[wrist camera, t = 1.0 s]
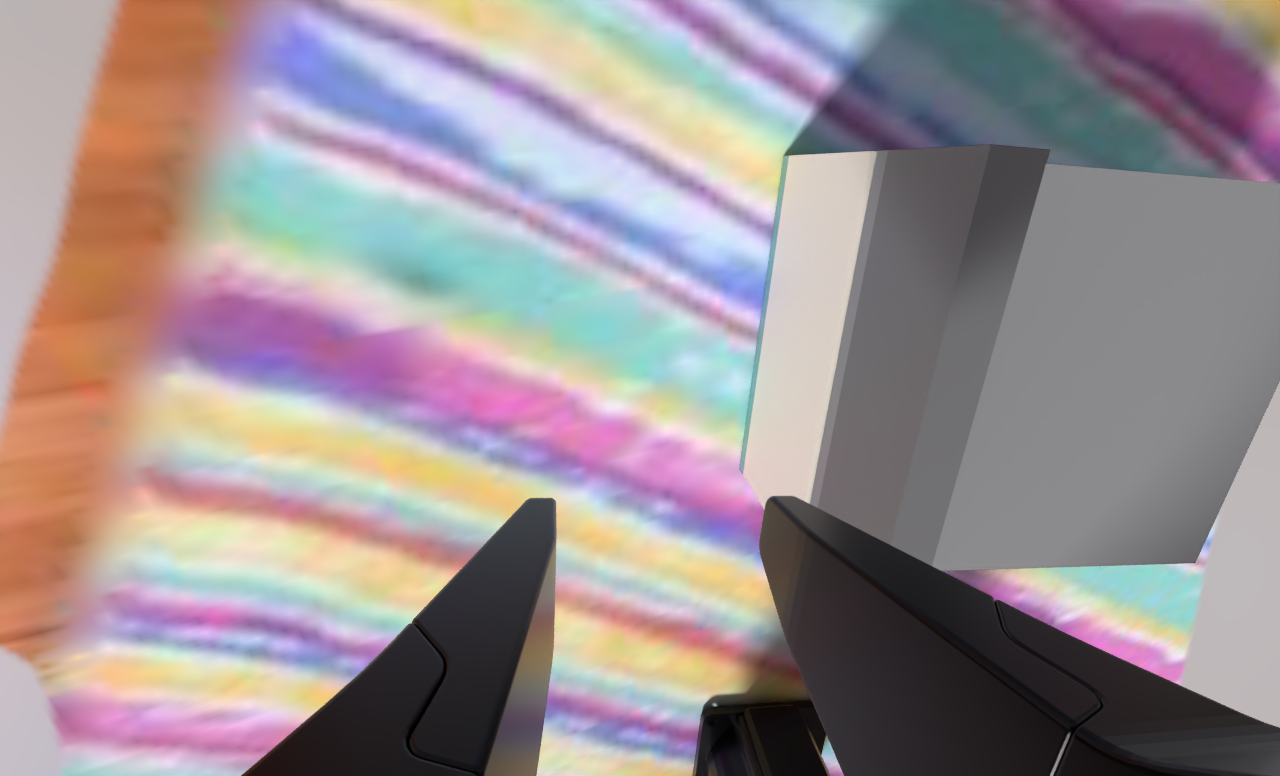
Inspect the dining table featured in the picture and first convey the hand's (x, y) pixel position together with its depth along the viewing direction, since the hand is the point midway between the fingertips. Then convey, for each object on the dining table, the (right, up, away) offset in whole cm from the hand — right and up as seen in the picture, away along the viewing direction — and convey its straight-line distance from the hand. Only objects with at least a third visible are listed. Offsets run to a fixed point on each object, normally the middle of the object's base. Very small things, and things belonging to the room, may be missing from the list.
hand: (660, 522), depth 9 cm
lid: (+12, +2, +8) cm, 15 cm away
